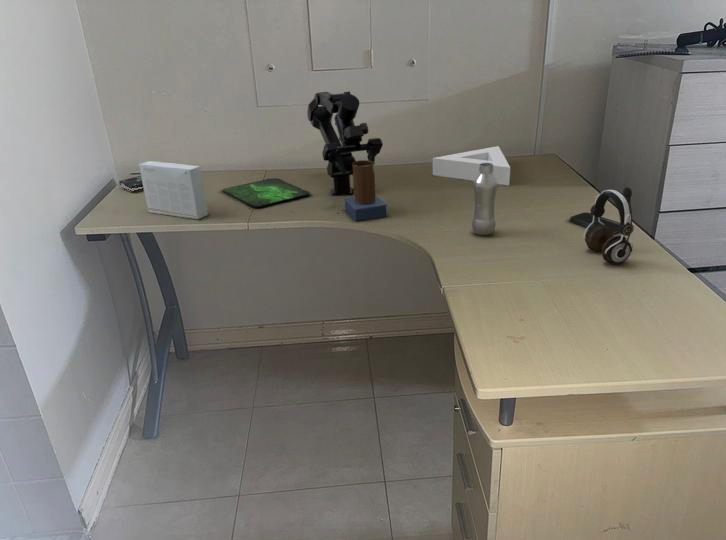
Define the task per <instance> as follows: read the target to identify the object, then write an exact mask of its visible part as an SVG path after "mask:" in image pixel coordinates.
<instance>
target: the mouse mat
mask: <svg viewBox="0 0 726 540" xmlns="http://www.w3.org/2000/svg"><path fill="white" fill-rule="evenodd" d="M221 191H222V192H223V193H225V194H226V195H228V196H230V197H233V198H235V199H236V200H238V201H240V202H242V203H244V204H247V205H249V206H250V207H252V208H262V207H265V206H269V205H273V204H277V203H282V202H285V201H289V200H293V199H299V198H301V197H306V196H308V195H310V194H311V192H310V191H308V190H306V189H302V188H300V187H297V186H295V185H293V184H291V183H288V182H286V181H284V180H282V179H280V178H276V177H275V178H274V177H271V178H266V179H263V180H259V181H257V180H256V181H254V182H249V183H245V184H244V183H243V184H241V185H235V186H230V187H227V188H223V189H222V190H221Z"/></svg>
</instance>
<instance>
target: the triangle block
mask: <svg viewBox="0 0 726 540" xmlns="http://www.w3.org/2000/svg"><path fill="white" fill-rule="evenodd" d="M481 163H492V164H493V172H492V174H493V175H494V177H495V178H496V180H497V185H501V186H502V185H503V186H510V179H511V166H510V164H509V162H508V161H507V159H506V156H505V155H504V154H503V151H502V150H501V148H500V146H499V145H497V146H491V147H485V148H480V149H475V150H468V151H463V152H458V153H453V154H448V155H442V156H437V157H433V158H432V176H434V177H435V176H436V177H443V178H449V179H450V178H451V179H457V180H458V179H459V180H465V181H472V182H474V180H475V178H476V177H477V176H478V175H479V173H480V172H479V167H480V164H481Z"/></svg>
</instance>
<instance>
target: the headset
mask: <svg viewBox="0 0 726 540" xmlns="http://www.w3.org/2000/svg"><path fill="white" fill-rule="evenodd" d="M632 196H633V191H632V188H630V187H629V186H627V187H624V189H623V191H622V192H620V191H617V190H615V189H605V190H603V191H601V192H600V194H598V195H596V196H595V202H594V204H593V205H592V206H591V207H590V213H591V214H592V215H593V222H592V223H591V224H590V225H589V226H588V227H585V230H584V232H583V238H584V242H585V244H586V245H587V248H588V249H589V250H590V251H592V252H601V254H602V258H603V260H604V261H605V262H606V263H608V264H613V265H619V264H622V263H625V261H627V260H628V258H630V256H631V253H632V252H633V249H634V247H635V246H634V243H633V242H632V241H631V240H630V237H631V234H632V233H634V228H635V227H634V224H633V209H632V205H631V202H632V201H631V197H632ZM609 199H611V200H612V201H613V203H614V204H615V206H616V209H617V212H618V214H619V221H620V222H619V223H620V225H619V227H618V231H619V232H618V233H620V234H621V235H614V234H613V232H612V230H611V228H610V227H609V226H607V225H605V224H603V223H602V222H600V217H603V216H604V215H605V213H606V212H605V211H606V209H605V206H606V204H607V202H608V200H609ZM595 217H598V221H599V223H601V224H596V225H594V226H592V227H591V228H589V227H590V226H591V225H592V224H593V223H594V218H595Z"/></svg>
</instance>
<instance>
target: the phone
mask: <svg viewBox="0 0 726 540" xmlns="http://www.w3.org/2000/svg"><path fill="white" fill-rule="evenodd" d="M569 222H571V223H573V224H576V225H579V226H581V227H585V228H587V227H588V226H589V225H590V224H591V223H592V222H593V215H592V214H591V212H587V211H586V212H585V211H584V212H581V213H578V214H574V215H572V216H570V217H569ZM600 222H602V223H603V224H605V225H607V226H609V227H610V228H611V230H612V232H613V235H614V234H616V233H620V232H619V231H618V227H619V225H620V222H619V221H615V220H612V219H609V218H608V217H607V218H606V217H603V216H601V217H600ZM596 224H601V223H599V221H598V217H595V218H594V223H593V224H592V225H591V226H590V227H589V228H588V229H590V228H591V227H592V226H594V225H596Z"/></svg>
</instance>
